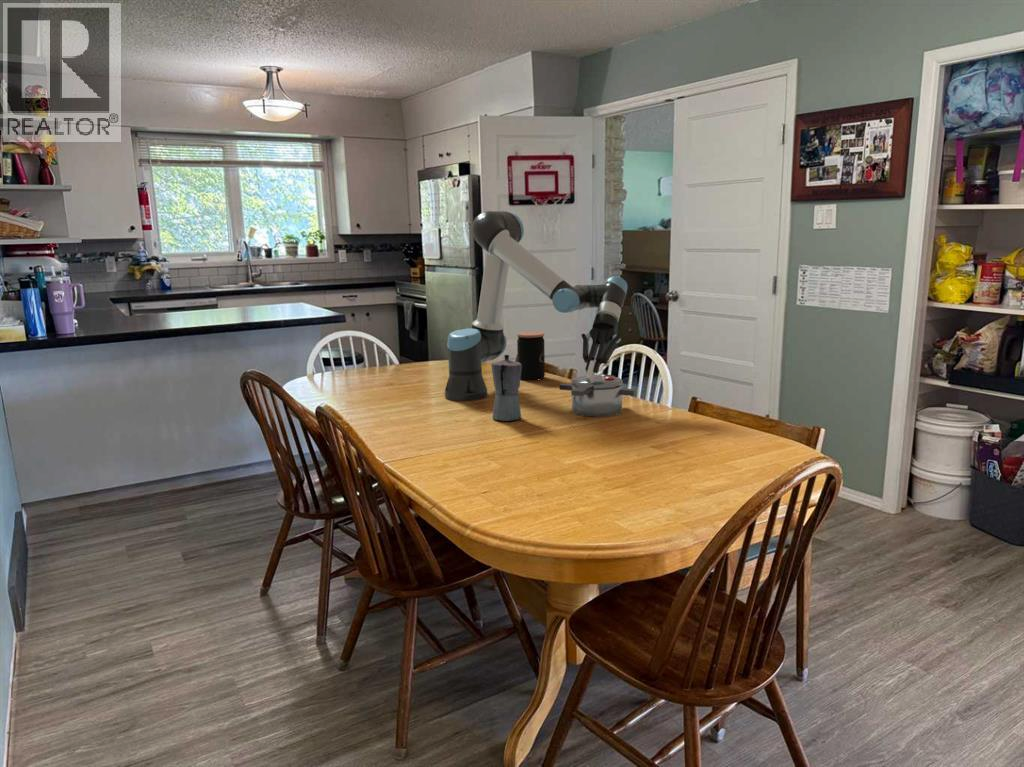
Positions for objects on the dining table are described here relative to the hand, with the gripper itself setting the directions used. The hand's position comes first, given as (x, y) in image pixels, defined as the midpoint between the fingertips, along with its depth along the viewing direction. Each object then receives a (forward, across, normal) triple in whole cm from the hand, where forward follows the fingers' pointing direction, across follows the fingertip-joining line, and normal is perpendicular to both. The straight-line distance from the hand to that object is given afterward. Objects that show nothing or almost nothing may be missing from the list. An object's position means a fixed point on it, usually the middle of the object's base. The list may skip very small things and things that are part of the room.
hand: (588, 380), depth 211 cm
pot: (+1, +1, -16) cm, 16 cm away
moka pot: (+16, +23, -1) cm, 28 cm away
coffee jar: (-26, +43, -44) cm, 66 cm away
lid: (-2, +1, -7) cm, 7 cm away
